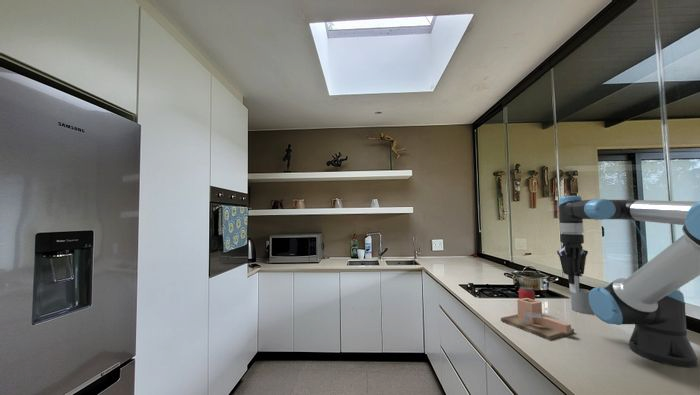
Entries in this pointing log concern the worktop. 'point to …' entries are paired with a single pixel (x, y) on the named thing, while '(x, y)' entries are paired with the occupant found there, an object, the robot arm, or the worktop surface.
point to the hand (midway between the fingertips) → (574, 291)
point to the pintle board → (534, 328)
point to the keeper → (531, 314)
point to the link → (536, 307)
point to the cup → (581, 302)
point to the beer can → (526, 292)
